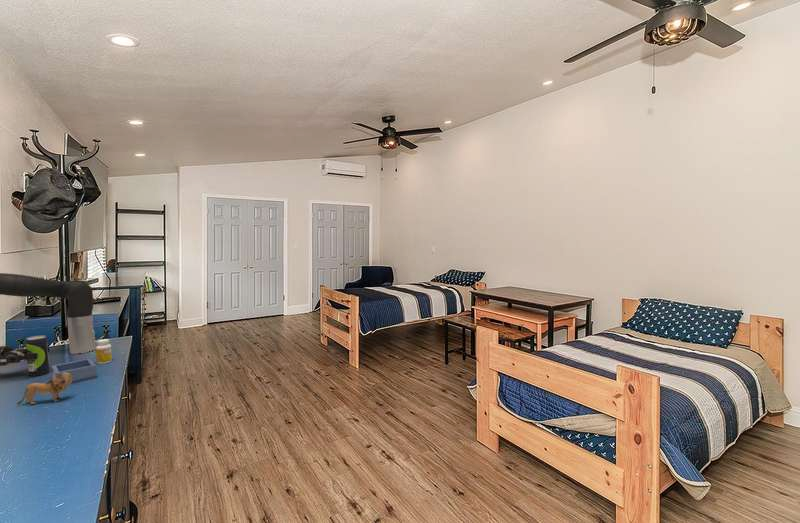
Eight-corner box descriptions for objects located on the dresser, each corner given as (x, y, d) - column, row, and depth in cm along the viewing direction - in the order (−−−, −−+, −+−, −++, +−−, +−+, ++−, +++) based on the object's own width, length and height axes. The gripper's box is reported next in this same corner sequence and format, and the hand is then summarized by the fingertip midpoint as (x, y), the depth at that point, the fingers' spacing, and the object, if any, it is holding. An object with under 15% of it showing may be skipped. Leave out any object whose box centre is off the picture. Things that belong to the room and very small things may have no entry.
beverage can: (50, 373, 157) (47, 337, 156) (29, 378, 153) (26, 340, 151) (48, 369, 161) (45, 334, 160) (27, 373, 157) (24, 337, 156)
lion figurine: (75, 394, 138) (73, 369, 137) (71, 400, 133) (69, 374, 132) (20, 402, 131) (17, 376, 130) (13, 409, 126) (11, 382, 126)
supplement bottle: (93, 363, 169) (92, 341, 169) (107, 359, 174) (105, 338, 174) (101, 364, 167) (100, 342, 167) (115, 360, 172) (113, 339, 172)
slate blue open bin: (90, 370, 161) (90, 358, 161) (96, 377, 153) (95, 365, 153) (52, 378, 152) (51, 365, 152) (56, 386, 144) (55, 373, 144)
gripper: (-22, 352, 145) (32, 348, 150) (4, 342, 159) (52, 338, 163) (-21, 372, 146) (33, 367, 150) (5, 360, 159) (54, 356, 164)
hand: (43, 352), depth 157 cm, fingers open, 8 cm apart
